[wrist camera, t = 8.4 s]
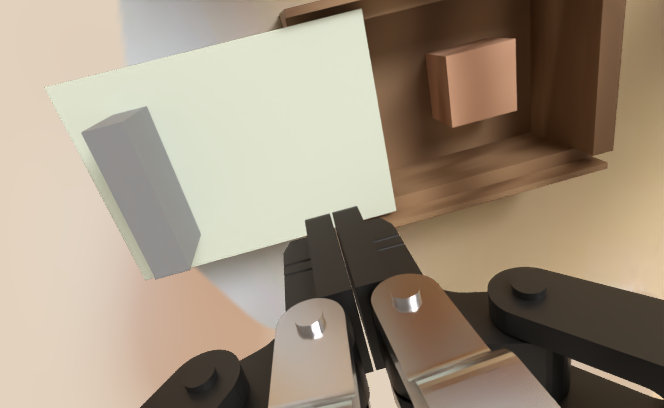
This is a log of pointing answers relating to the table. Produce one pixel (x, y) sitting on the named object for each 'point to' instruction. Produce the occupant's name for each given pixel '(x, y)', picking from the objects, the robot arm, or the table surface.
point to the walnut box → (486, 93)
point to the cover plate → (233, 142)
